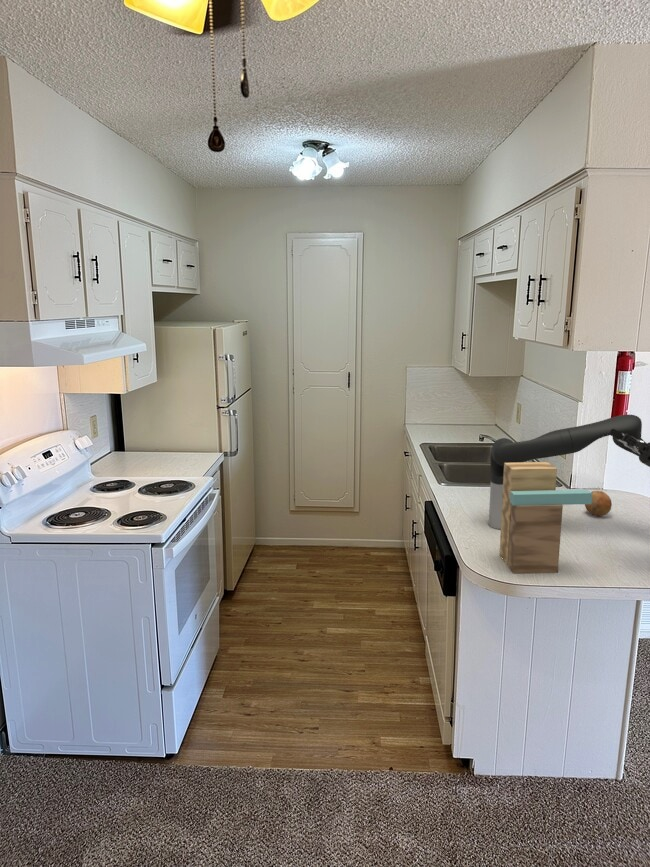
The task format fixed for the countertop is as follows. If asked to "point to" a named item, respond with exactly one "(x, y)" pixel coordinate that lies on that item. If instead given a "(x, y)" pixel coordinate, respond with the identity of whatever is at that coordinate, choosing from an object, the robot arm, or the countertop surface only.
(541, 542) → the step
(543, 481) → the stand
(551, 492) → the rail
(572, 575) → the countertop surface
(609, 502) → the onion
